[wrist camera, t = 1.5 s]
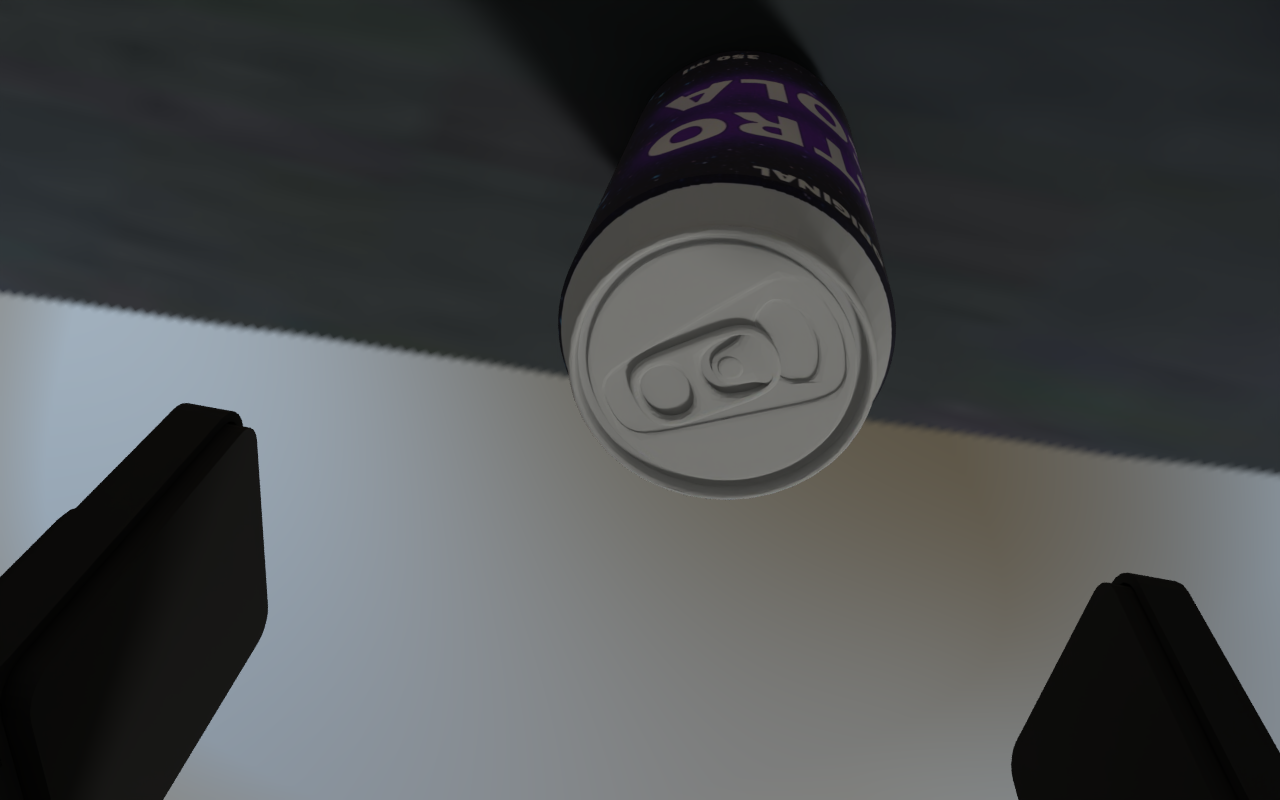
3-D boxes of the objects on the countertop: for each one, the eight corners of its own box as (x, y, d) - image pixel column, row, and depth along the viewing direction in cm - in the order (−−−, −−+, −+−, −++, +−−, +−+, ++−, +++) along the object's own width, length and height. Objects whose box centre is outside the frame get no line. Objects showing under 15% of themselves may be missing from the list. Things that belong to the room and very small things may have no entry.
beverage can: (882, 208, 26) (953, 459, 16) (688, 286, 28) (638, 557, 17) (803, 2, 24) (825, 137, 13) (597, 102, 25) (477, 288, 15)
